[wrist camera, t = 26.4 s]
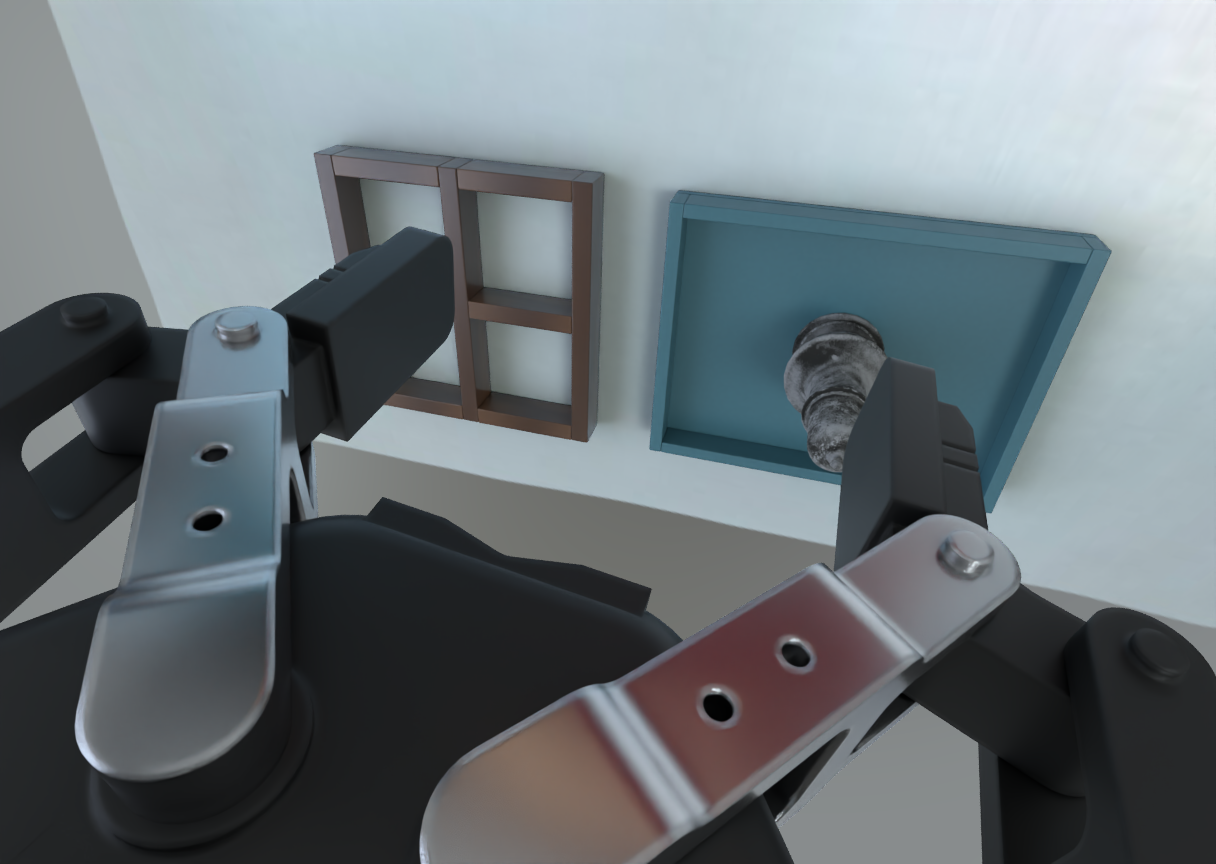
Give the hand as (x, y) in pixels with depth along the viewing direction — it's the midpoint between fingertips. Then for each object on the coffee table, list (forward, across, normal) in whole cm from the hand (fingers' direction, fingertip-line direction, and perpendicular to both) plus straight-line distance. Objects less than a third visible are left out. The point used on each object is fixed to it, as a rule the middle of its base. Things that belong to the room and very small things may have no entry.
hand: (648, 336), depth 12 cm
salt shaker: (+28, -7, +15) cm, 32 cm away
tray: (+28, -7, +15) cm, 32 cm away
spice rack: (+27, +17, +18) cm, 36 cm away
